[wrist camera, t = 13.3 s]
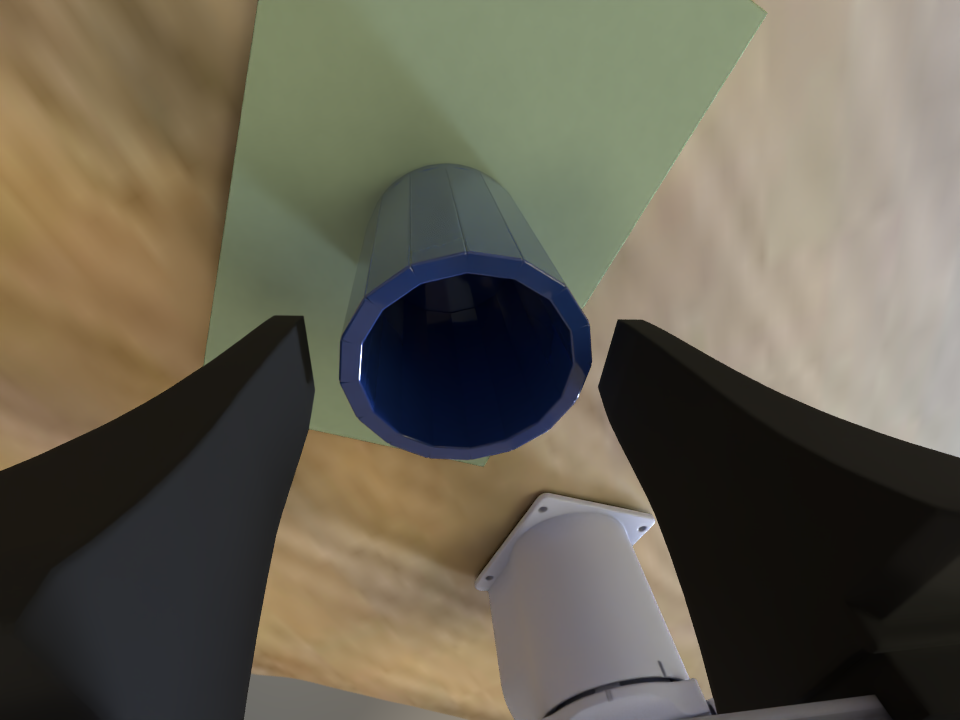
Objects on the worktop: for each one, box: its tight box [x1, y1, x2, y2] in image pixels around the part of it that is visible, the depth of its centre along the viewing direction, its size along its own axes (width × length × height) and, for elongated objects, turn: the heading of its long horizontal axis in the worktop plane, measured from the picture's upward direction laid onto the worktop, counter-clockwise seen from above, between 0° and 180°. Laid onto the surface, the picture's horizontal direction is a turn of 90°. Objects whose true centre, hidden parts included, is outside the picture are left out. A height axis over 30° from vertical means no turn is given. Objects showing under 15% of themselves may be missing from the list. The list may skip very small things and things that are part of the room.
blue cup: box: [339, 163, 592, 460], centre depth 13 cm, size 6×6×8 cm
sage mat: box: [203, 0, 767, 467], centre depth 16 cm, size 20×13×1 cm, turn 156°
